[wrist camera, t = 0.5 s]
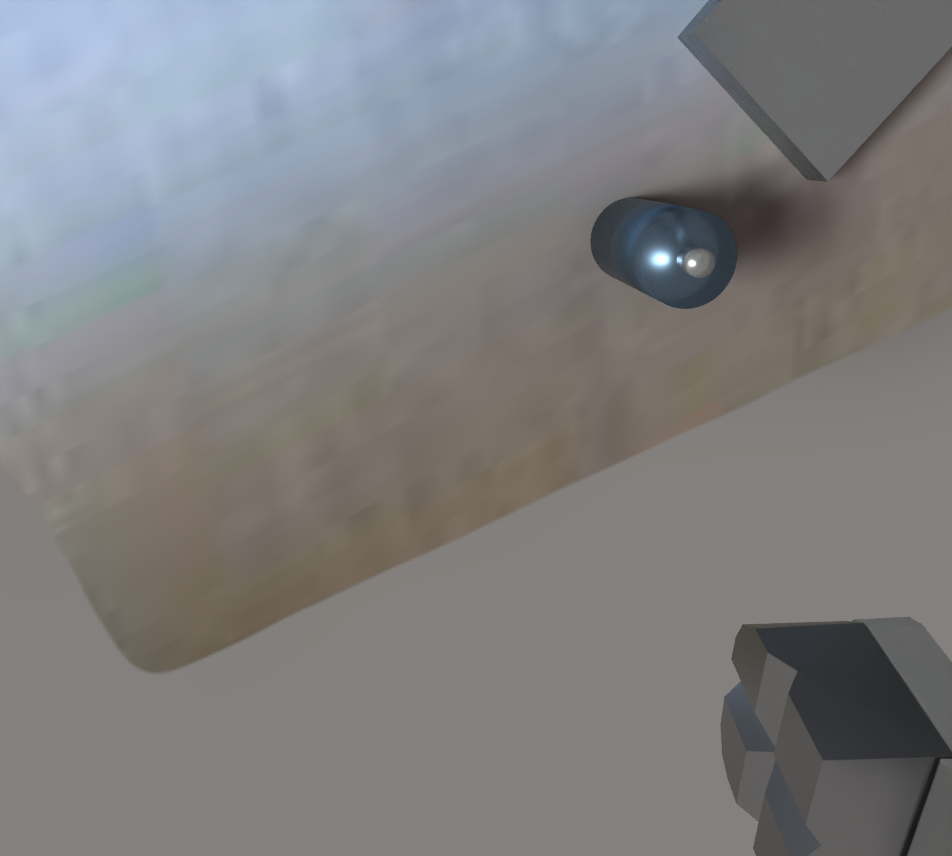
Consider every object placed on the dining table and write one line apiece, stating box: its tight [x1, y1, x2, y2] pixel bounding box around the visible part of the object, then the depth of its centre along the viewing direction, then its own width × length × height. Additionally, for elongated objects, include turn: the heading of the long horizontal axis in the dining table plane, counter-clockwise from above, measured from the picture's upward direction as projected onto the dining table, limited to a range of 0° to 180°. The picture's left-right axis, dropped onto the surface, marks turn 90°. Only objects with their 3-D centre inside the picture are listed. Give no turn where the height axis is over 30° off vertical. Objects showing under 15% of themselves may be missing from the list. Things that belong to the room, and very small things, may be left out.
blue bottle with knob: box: [591, 197, 737, 309], centre depth 48 cm, size 5×5×12 cm
